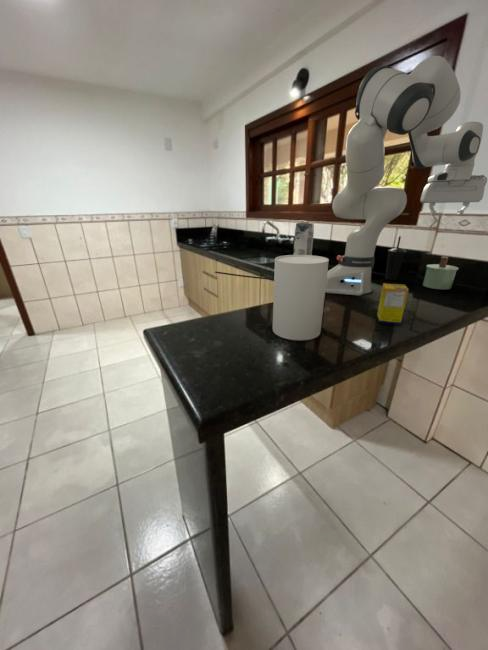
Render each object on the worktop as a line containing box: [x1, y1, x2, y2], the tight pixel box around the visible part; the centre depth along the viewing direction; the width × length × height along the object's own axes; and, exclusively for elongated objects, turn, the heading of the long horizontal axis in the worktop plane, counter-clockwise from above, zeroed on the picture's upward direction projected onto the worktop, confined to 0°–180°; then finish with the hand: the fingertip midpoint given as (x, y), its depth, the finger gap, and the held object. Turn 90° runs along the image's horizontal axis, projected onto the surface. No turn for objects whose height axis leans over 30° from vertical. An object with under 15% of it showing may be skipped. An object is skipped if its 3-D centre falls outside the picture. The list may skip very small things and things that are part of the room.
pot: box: [422, 267, 458, 290], centre depth 113 cm, size 10×10×8 cm
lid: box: [425, 256, 460, 271], centre depth 110 cm, size 11×11×5 cm
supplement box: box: [376, 282, 409, 326], centre depth 79 cm, size 6×6×11 cm
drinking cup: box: [384, 235, 407, 281], centre depth 125 cm, size 8×8×20 cm
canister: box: [271, 254, 330, 341], centre depth 71 cm, size 14×14×20 cm
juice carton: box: [293, 219, 315, 255], centre depth 141 cm, size 9×10×27 cm
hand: (445, 215), depth 105 cm, fingers open, 8 cm apart
